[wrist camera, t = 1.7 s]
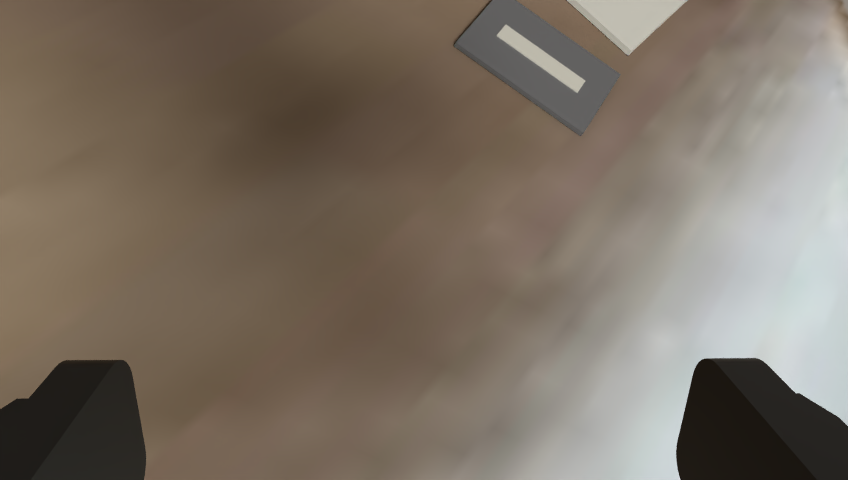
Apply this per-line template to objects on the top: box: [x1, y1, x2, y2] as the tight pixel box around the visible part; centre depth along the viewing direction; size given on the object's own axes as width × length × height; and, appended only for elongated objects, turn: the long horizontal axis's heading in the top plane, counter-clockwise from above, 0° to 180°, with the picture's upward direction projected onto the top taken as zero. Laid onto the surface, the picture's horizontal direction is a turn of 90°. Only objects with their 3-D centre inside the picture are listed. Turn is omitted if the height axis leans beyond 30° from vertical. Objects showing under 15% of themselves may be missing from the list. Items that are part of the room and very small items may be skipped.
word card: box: [454, 0, 621, 136], centre depth 33 cm, size 8×5×1 cm, turn 57°
